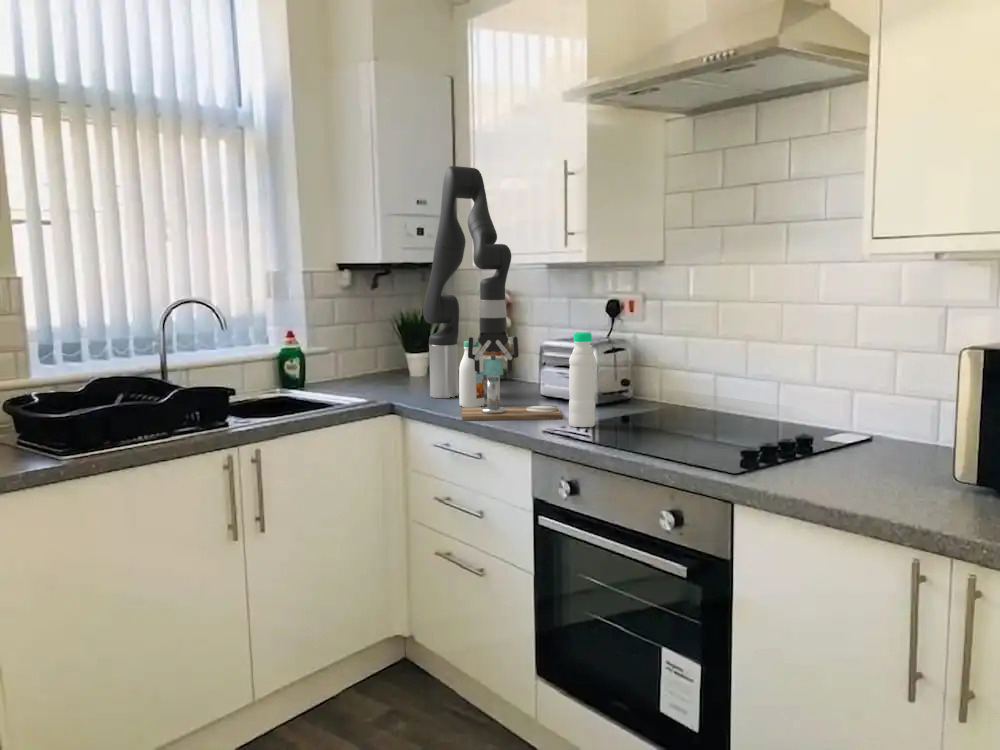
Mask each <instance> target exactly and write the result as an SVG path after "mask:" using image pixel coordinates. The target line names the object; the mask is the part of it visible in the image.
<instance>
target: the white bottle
mask: <svg viewBox="0 0 1000 750" xmlns="http://www.w3.org/2000/svg"><path fill="white" fill-rule="evenodd" d="M572 338H573V343H574V345H575V346H574V347H573V349H572V353H571V354H570V356H569V359H568V364H569V369H568V370H569V371H568V393H569V395H568V396H569V401H568V410H569V411H568V425H569V426H570V427H571V426H572V427H571V428H575V427H590V428H593V427H594V426H595V425H596V412H595V411H596V400H595V399H596V380H597V379H596V362H597V361H596V356H595V355H594V352H593V349H592V348H591V345H590V344H591V343H592V339H593V337H592V333H590V332H585V331H584V332H583V331H582V332H581V331H580V332H575V333H573V337H572Z"/></svg>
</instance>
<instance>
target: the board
mask: <svg viewBox="0 0 1000 750" xmlns="http://www.w3.org/2000/svg"><path fill="white" fill-rule="evenodd" d="M483 407H484V406H482V407H461V421H463V422H464V421H465V422H466V421H510V420H511V421H516V420H517V421H520V420H525V421H527V420H533V421H534V420H563V414H562V412H561V410H560V408H558V406H557V405H533V406H532V405H531V406H530V405H529V406H528V405H527V406H504V407H505V408H506V412H505V413H502V414H484V413H482V412H481V408H483Z"/></svg>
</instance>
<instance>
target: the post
mask: <svg viewBox="0 0 1000 750" xmlns="http://www.w3.org/2000/svg"><path fill="white" fill-rule="evenodd" d="M500 378H501V375H499V376H486V391H487V392H486V397H487V398H486V402H487V403H486V404H487V405H486V406H482V407H483V408H481V412H482V413H484V414H502V413H505V412H506V408H505V407H506V406H501V387H500V385H501V383H500V382H501V381H500V380H501V379H500Z"/></svg>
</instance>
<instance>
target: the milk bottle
mask: <svg viewBox="0 0 1000 750" xmlns="http://www.w3.org/2000/svg"><path fill="white" fill-rule="evenodd" d="M468 345H469V340H465V341H463V349H464V353H463V356H462V359H461V360H460V363H459V367H458V400H459V403H458V404H459V406H460V407H461V406H462V407H481V406H482V407H485V375H483V360H482V359H481V357H480V358H479V361H480V374H477V372H475V361H474V360H473V359H471V358H468ZM479 346H480V343H479V342H478V341H477V342H476V344H475V345H473V352H472V354H474V355H476V354H477V352H478V351H479V349H480V348H479ZM462 407H461V408H462Z"/></svg>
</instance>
